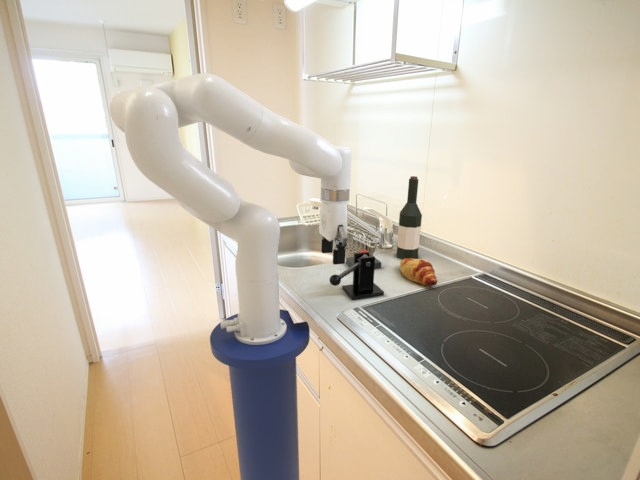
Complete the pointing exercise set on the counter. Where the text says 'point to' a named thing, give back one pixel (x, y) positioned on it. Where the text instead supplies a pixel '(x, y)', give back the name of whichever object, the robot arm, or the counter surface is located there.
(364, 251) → the button
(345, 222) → the robot arm
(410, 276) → the croissant
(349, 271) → the ball knob lever
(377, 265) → the button housing
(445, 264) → the counter surface
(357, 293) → the lever bracket
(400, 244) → the wine bottle
